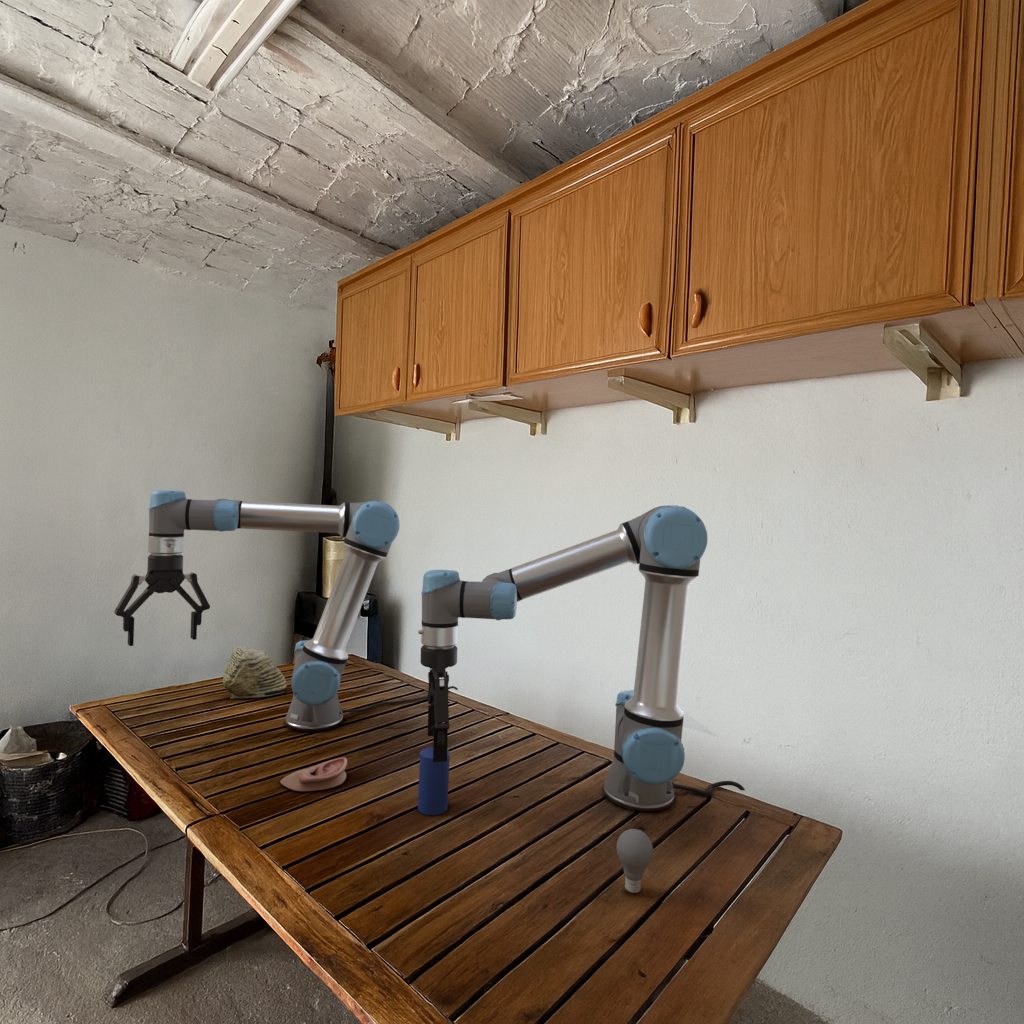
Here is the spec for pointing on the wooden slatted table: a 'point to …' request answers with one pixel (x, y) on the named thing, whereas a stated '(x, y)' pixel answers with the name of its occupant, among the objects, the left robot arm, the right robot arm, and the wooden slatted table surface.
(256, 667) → the fossil
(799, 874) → the wooden slatted table surface
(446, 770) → the canister
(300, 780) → the anatomical model
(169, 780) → the wooden slatted table surface
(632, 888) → the light bulb
